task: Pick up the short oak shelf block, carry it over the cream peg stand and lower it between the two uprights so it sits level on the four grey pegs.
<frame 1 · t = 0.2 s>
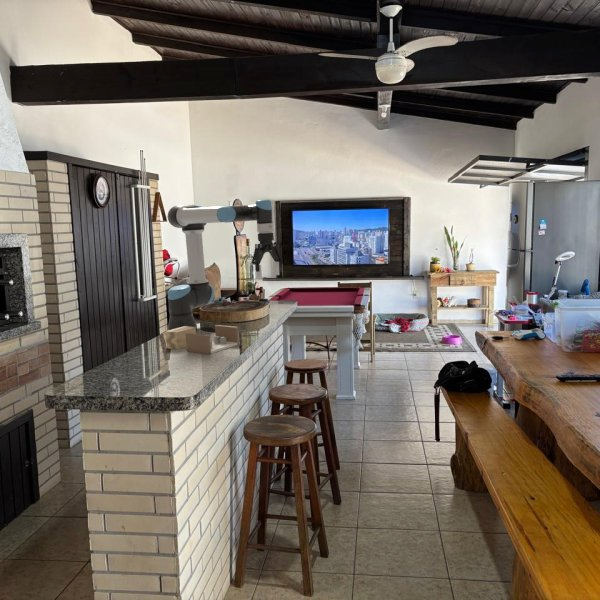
hand: (268, 276, 275), 28 cm above the countertop, fingers open, 13 cm apart
peg stand: (213, 347, 253), on the countertop
shelf block: (182, 346, 260), on the countertop
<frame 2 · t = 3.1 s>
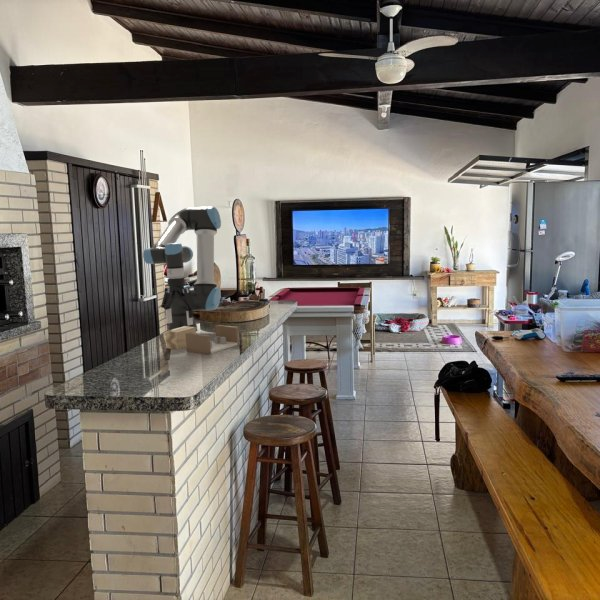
hand: (179, 324, 258), 10 cm above the countertop, fingers open, 13 cm apart
nothing on the countertop moved.
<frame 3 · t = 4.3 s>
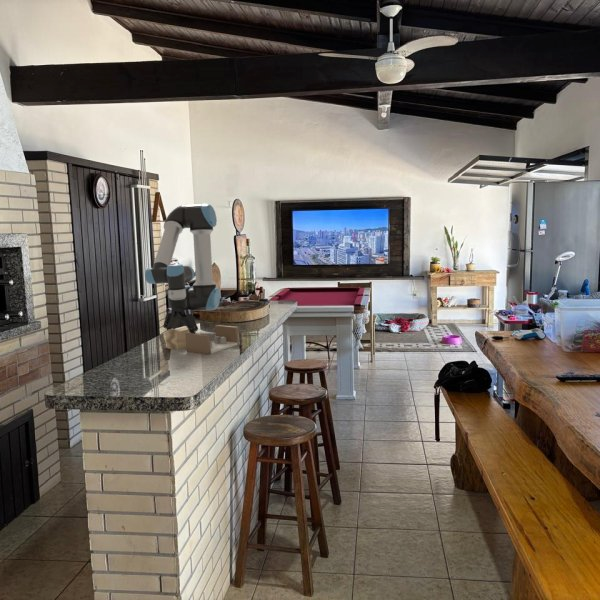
hand: (181, 344, 260), 1 cm above the countertop, fingers open, 13 cm apart
nothing on the countertop moved.
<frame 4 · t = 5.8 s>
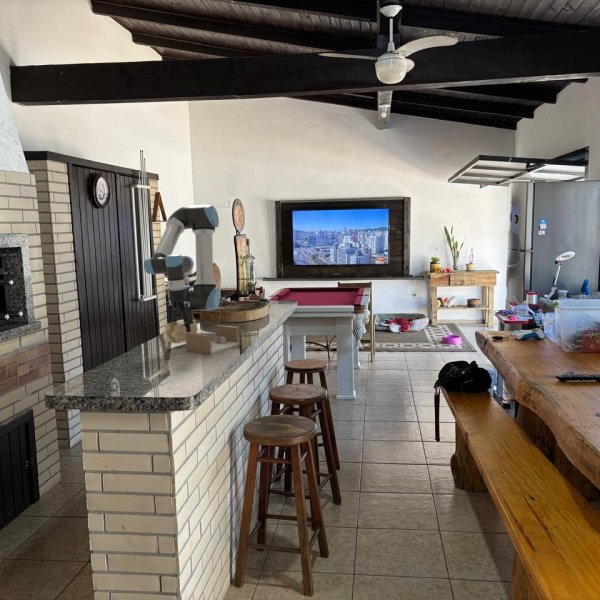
hand: (181, 338, 261), 3 cm above the countertop, fingers closed on shelf block, 7 cm apart
shelf block: (182, 339, 261), point 3 cm above the countertop, touching gripper
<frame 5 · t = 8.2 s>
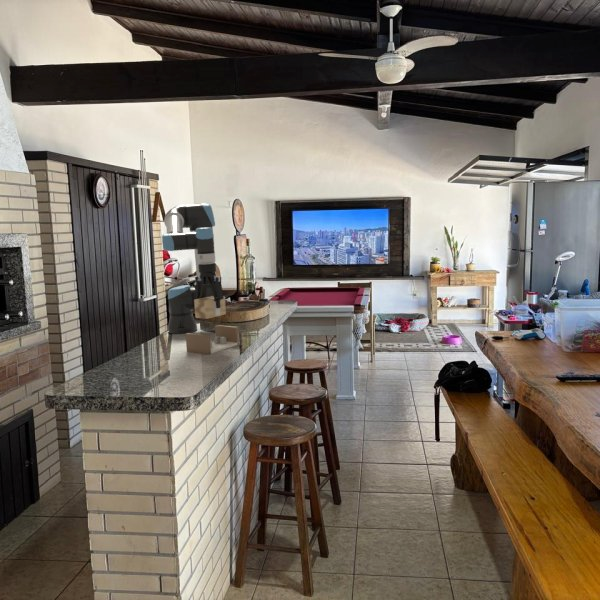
hand: (211, 314, 251), 15 cm above the countertop, fingers closed on shelf block, 7 cm apart
shelf block: (210, 315, 251), point 14 cm above the countertop, touching gripper
when the fingers open (5 cm above the countertop, at t = 10.6 s): shelf block stays where it is, resting on peg stand.
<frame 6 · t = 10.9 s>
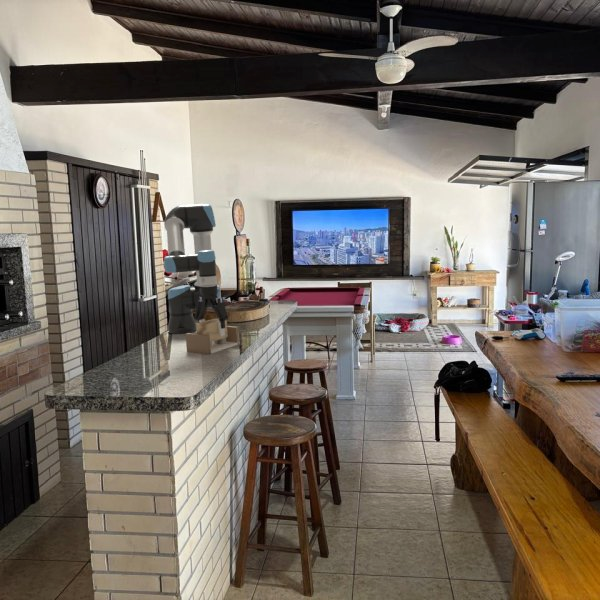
hand: (212, 334, 252), 6 cm above the countertop, fingers open, 11 cm apart
shelf block: (212, 339, 252), point 4 cm above the countertop, touching peg stand
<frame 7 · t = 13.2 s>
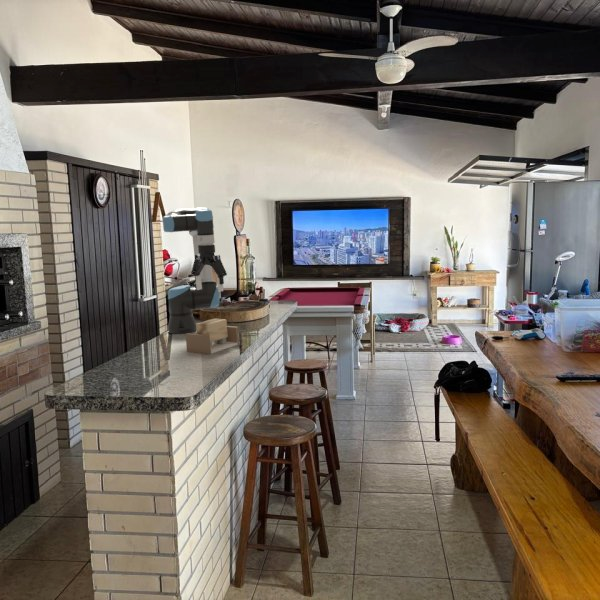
hand: (209, 290, 261), 24 cm above the countertop, fingers open, 13 cm apart
nothing on the countertop moved.
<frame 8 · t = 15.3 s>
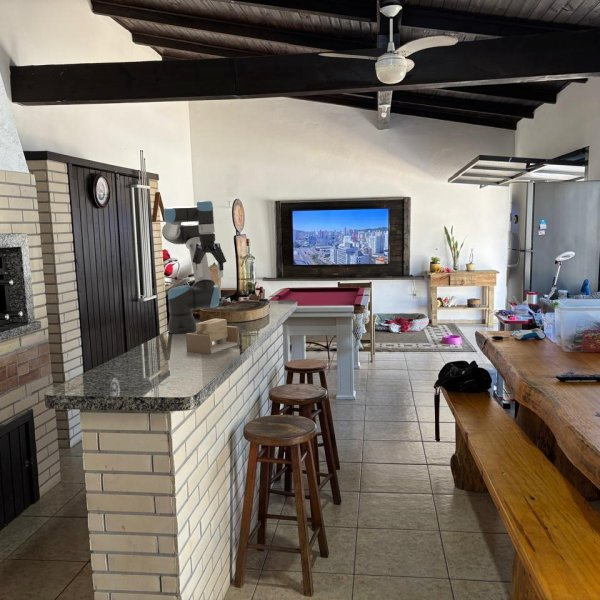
hand: (210, 277, 277), 29 cm above the countertop, fingers open, 13 cm apart
nothing on the countertop moved.
at the end: shelf block 0.1 cm off-centre on the peg stand, point 4.0 cm above the peg stand's base; shelf block tilted 0°; the gripper is holding nothing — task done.
